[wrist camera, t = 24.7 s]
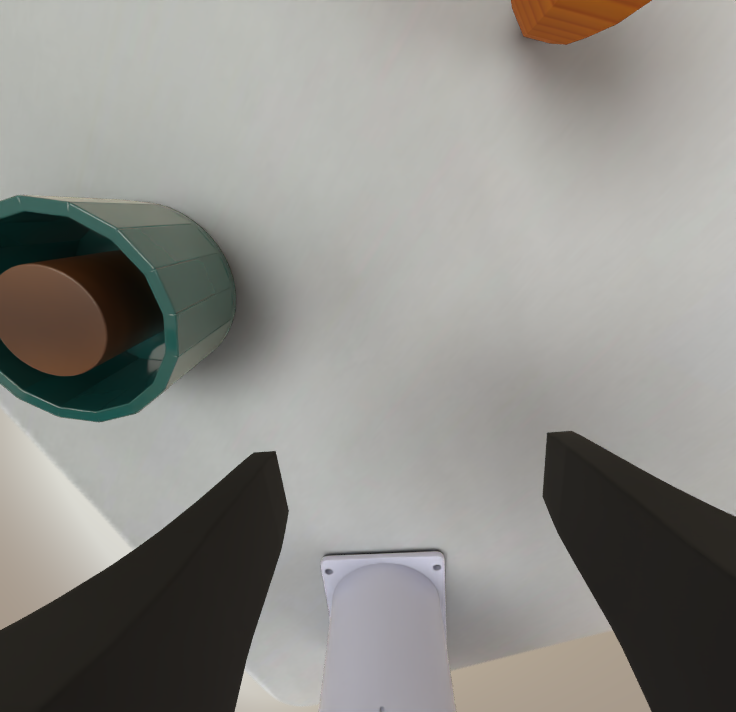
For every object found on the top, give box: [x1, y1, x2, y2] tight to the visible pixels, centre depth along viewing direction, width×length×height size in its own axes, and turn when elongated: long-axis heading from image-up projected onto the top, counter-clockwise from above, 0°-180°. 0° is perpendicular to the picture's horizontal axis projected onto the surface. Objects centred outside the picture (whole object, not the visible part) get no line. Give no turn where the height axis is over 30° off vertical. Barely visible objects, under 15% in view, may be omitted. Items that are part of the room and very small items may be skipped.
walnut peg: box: [0, 250, 164, 376], centre depth 16 cm, size 4×4×6 cm
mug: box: [0, 195, 236, 422], centre depth 17 cm, size 11×8×6 cm
